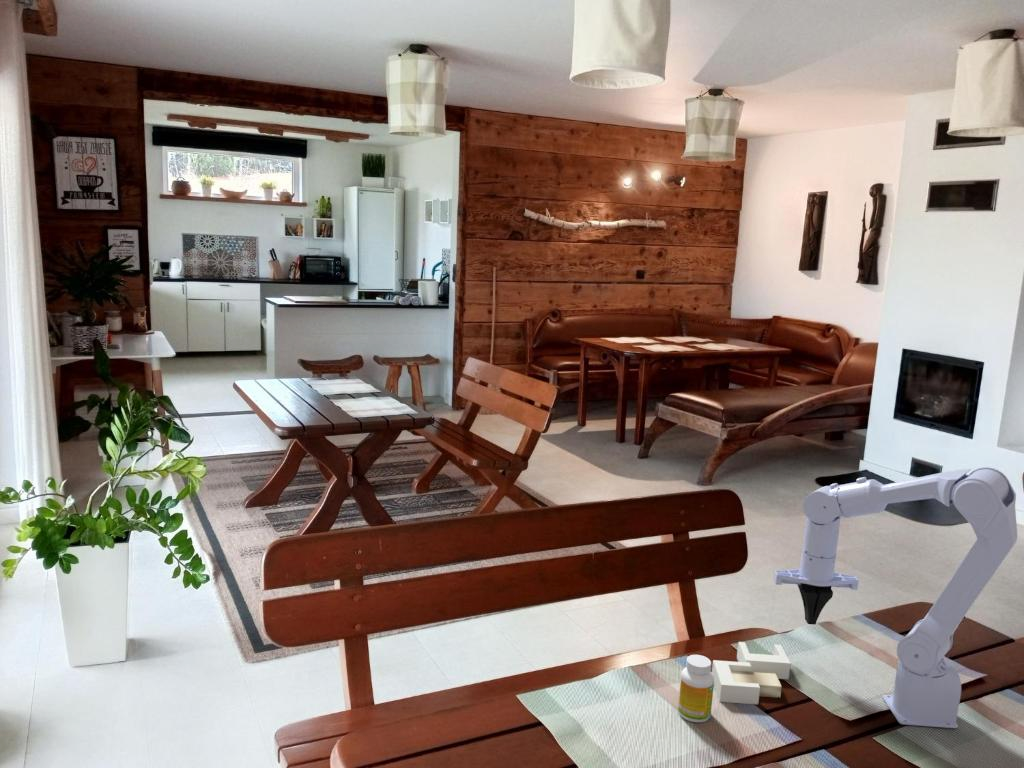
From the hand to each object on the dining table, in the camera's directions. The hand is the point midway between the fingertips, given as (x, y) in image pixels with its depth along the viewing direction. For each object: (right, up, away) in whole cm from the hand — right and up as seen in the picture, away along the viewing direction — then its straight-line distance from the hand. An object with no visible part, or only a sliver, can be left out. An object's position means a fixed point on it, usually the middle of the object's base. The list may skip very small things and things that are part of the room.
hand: (810, 621), depth 148 cm
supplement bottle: (-24, -12, -14) cm, 30 cm away
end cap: (-16, -10, -6) cm, 20 cm away
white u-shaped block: (-8, -9, +1) cm, 12 cm away
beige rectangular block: (-12, -11, -6) cm, 17 cm away
